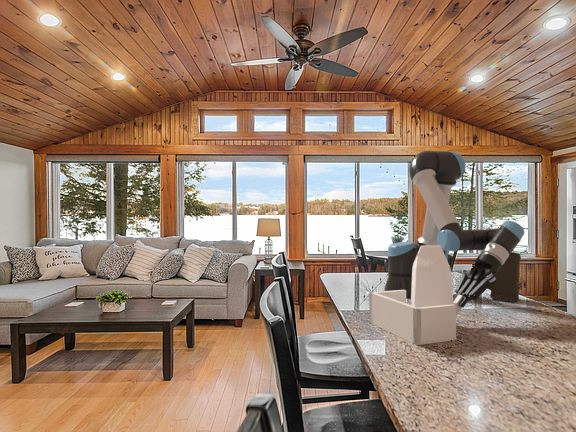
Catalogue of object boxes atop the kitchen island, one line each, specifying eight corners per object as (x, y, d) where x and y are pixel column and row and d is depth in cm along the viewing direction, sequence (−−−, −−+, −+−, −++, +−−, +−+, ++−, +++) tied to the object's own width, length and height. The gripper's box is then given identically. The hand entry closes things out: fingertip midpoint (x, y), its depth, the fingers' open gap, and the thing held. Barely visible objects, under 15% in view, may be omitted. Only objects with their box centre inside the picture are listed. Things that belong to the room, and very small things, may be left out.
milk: (447, 322, 132) (447, 244, 131) (454, 332, 120) (454, 247, 120) (409, 320, 134) (409, 244, 134) (413, 330, 123) (413, 247, 123)
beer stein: (513, 297, 171) (513, 250, 171) (525, 302, 160) (525, 253, 160) (476, 296, 172) (476, 250, 172) (486, 302, 162) (486, 253, 161)
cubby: (369, 322, 133) (369, 292, 133) (403, 318, 137) (403, 289, 137) (416, 345, 109) (416, 309, 109) (456, 339, 113) (456, 305, 113)
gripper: (470, 250, 139) (431, 301, 133) (501, 253, 127) (460, 310, 121) (482, 264, 141) (444, 315, 135) (513, 269, 128) (473, 325, 123)
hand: (451, 312), depth 128 cm, fingers closed
